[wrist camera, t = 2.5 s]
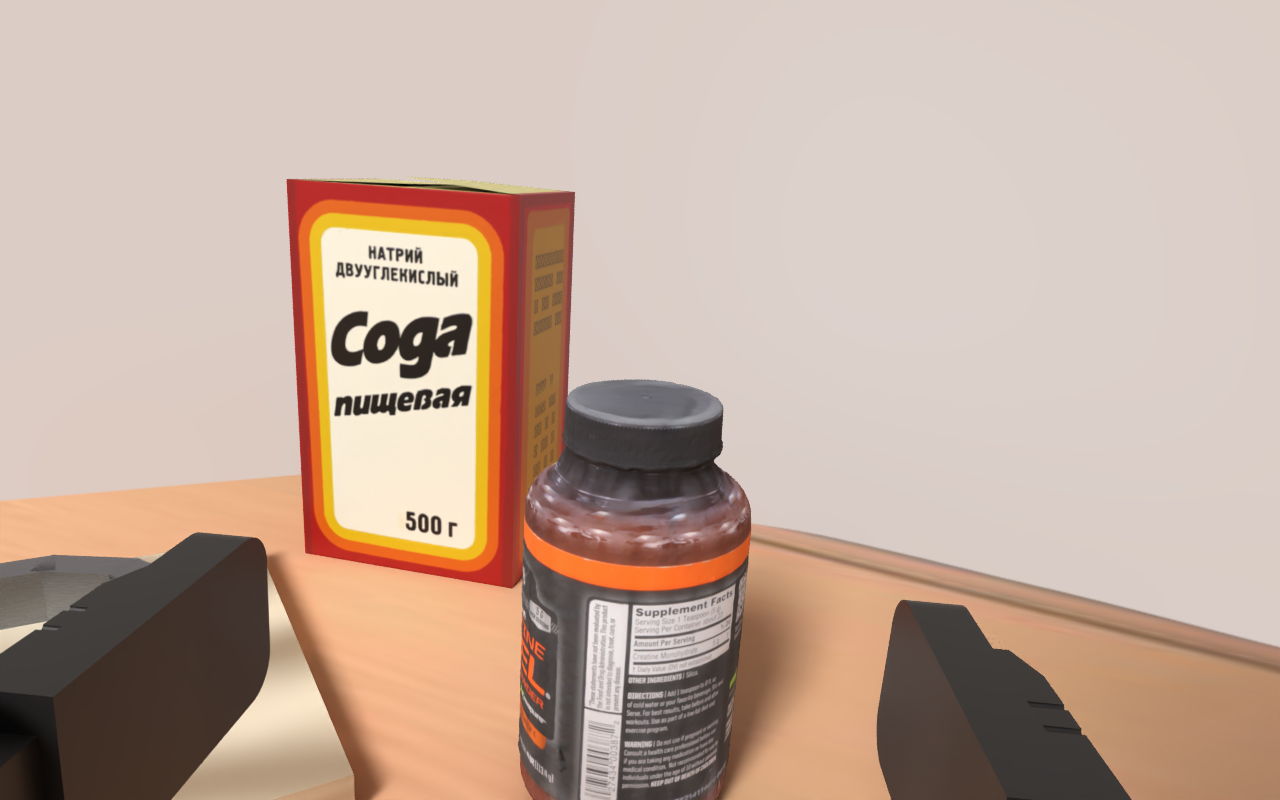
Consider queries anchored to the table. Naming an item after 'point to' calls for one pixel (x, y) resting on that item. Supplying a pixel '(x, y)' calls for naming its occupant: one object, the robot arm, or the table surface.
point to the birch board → (268, 731)
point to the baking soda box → (428, 367)
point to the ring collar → (53, 584)
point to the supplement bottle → (632, 599)
